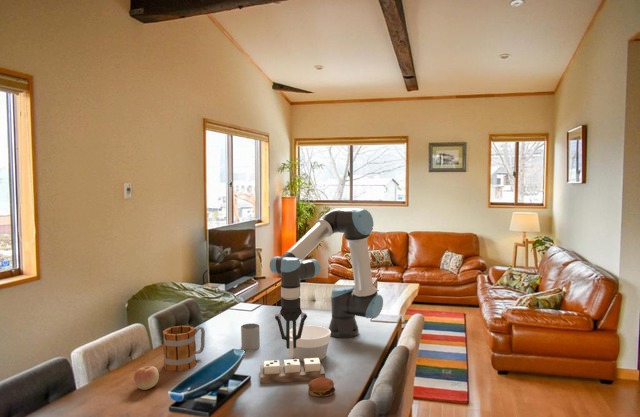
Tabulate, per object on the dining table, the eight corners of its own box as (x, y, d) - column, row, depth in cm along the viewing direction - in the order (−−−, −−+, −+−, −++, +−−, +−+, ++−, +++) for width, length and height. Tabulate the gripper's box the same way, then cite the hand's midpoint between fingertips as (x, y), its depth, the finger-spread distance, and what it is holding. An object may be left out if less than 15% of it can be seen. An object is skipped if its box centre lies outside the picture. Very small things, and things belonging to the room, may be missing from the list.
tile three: (279, 368, 194) (279, 359, 194) (279, 374, 188) (279, 365, 188) (264, 369, 193) (263, 360, 193) (264, 375, 187) (264, 366, 187)
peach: (135, 394, 176) (134, 373, 176) (134, 385, 184) (133, 364, 184) (160, 390, 180) (159, 369, 179) (158, 381, 188) (157, 361, 187)
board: (321, 367, 199) (321, 361, 199) (325, 379, 187) (325, 373, 187) (260, 371, 196) (260, 365, 196) (260, 383, 184) (260, 377, 184)
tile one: (318, 366, 196) (318, 357, 196) (320, 372, 190) (320, 362, 190) (303, 367, 195) (303, 358, 195) (305, 373, 189) (305, 363, 189)
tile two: (299, 367, 195) (298, 358, 195) (300, 373, 189) (300, 364, 189) (284, 368, 194) (284, 359, 194) (284, 374, 188) (284, 365, 188)
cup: (256, 351, 219) (255, 329, 219) (239, 349, 221) (238, 328, 220) (262, 344, 228) (261, 323, 227) (245, 343, 229) (245, 323, 229)
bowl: (336, 350, 219) (336, 327, 218) (323, 366, 200) (322, 341, 200) (297, 346, 225) (297, 323, 224) (280, 361, 207) (280, 336, 206)
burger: (303, 391, 177) (303, 378, 177) (324, 385, 183) (324, 373, 182) (318, 401, 169) (318, 388, 169) (339, 394, 175) (339, 381, 174)
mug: (175, 374, 194) (174, 337, 193) (156, 366, 203) (155, 331, 202) (214, 359, 210) (213, 325, 209) (195, 352, 218) (194, 320, 217)
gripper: (306, 294, 194) (306, 352, 196) (273, 295, 193) (274, 353, 194) (308, 299, 187) (308, 358, 188) (274, 300, 185) (275, 360, 186)
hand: (291, 356), depth 191 cm, fingers closed
